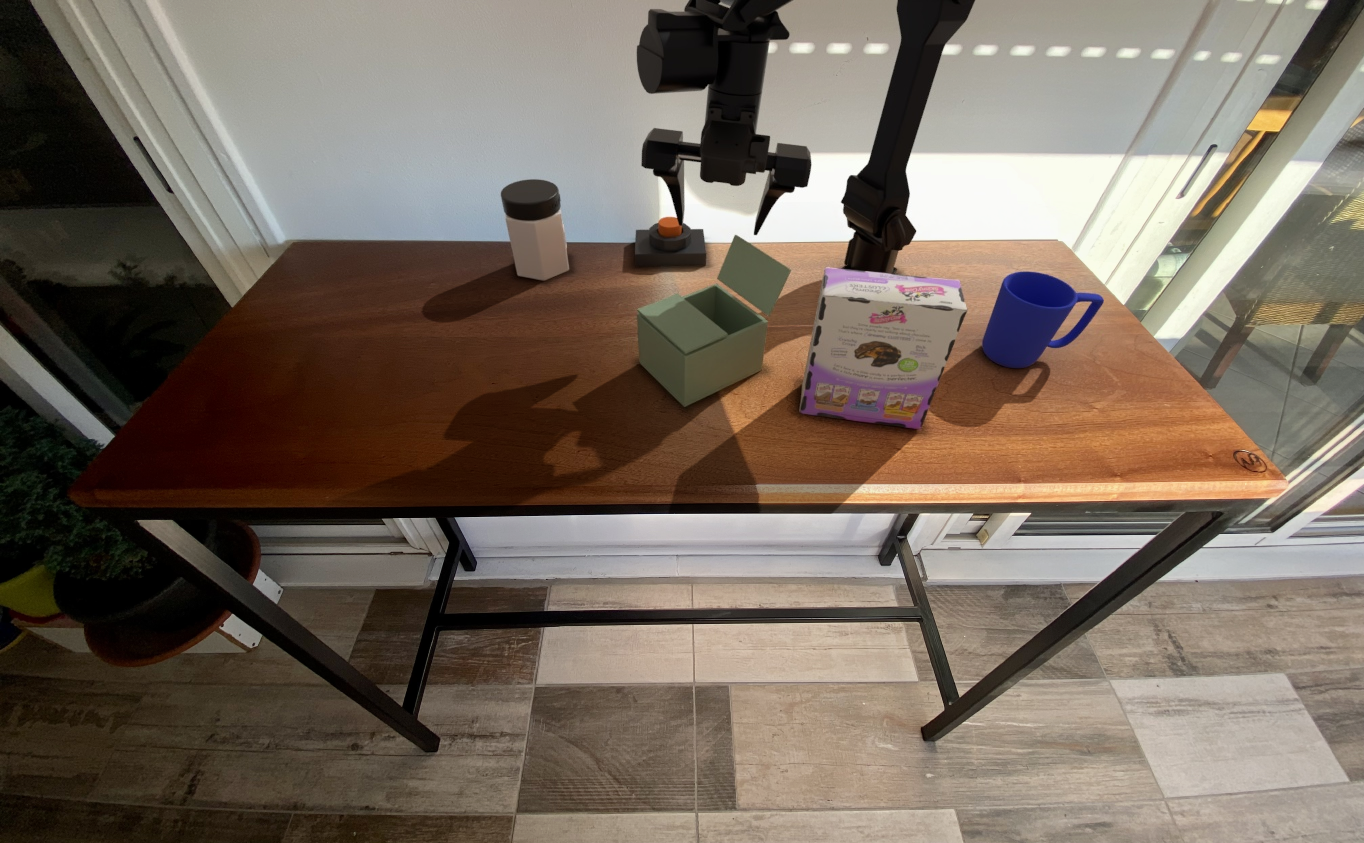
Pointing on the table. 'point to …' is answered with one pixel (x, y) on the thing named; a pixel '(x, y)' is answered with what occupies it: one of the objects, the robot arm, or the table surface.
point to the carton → (700, 342)
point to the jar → (535, 228)
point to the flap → (753, 275)
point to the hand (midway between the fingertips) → (718, 229)
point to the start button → (669, 227)
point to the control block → (670, 248)
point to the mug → (1032, 318)
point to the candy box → (880, 346)
